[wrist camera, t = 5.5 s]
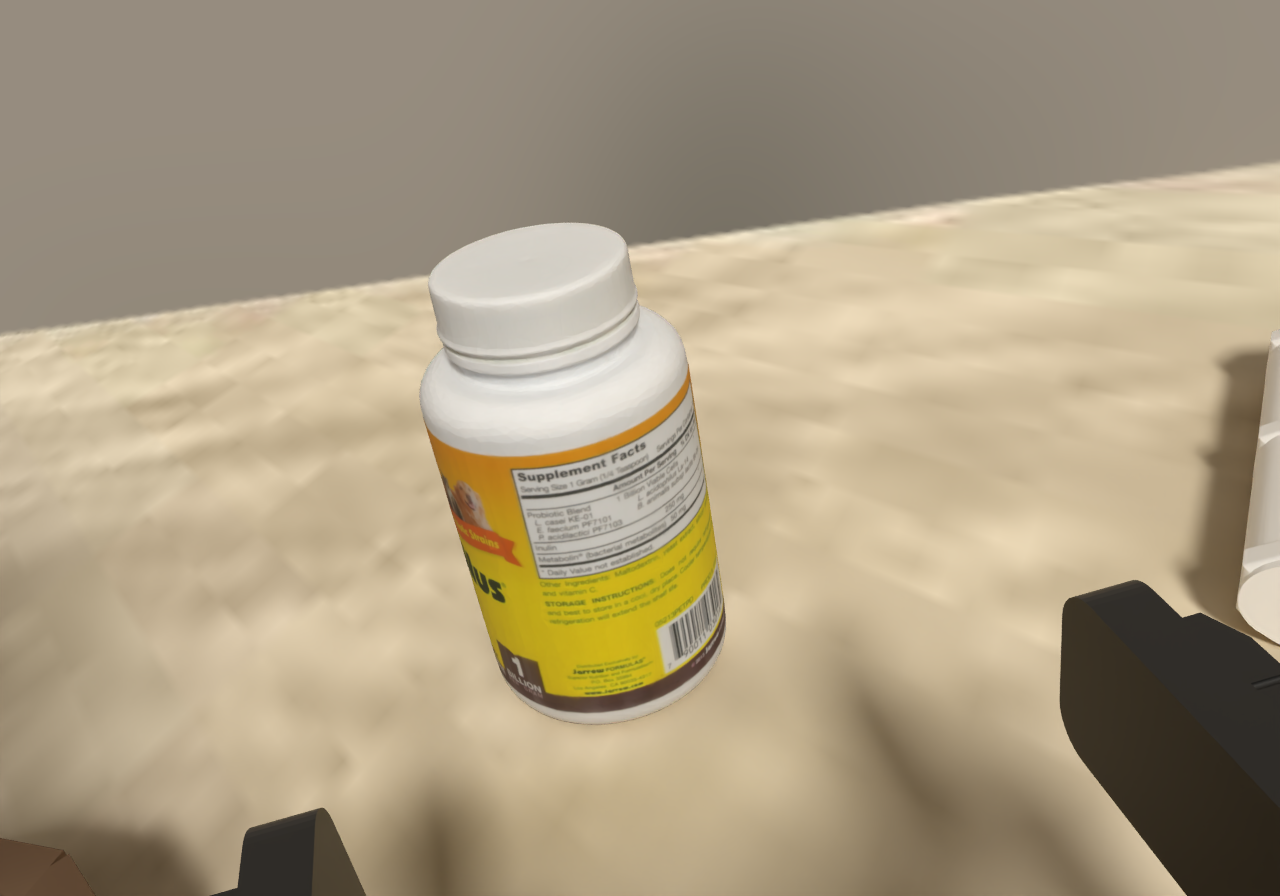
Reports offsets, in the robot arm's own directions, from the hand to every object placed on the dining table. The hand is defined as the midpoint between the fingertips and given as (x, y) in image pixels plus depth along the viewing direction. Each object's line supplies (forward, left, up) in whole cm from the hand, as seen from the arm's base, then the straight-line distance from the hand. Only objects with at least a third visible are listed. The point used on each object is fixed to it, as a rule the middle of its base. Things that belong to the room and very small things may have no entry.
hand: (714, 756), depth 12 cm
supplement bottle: (0, +12, -9) cm, 15 cm away
